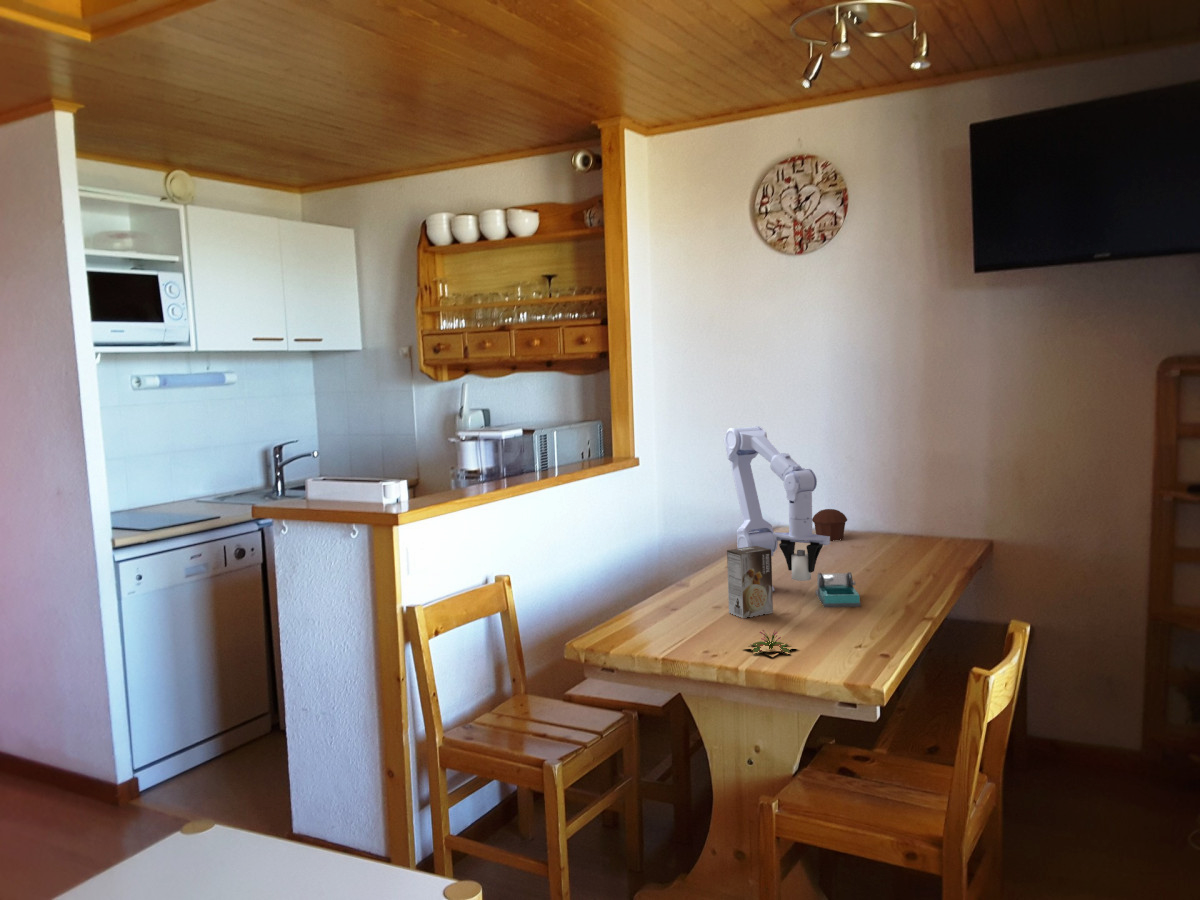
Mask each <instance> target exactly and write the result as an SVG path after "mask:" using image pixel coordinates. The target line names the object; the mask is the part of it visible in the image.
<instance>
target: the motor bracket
mask: <svg viewBox="0 0 1200 900" xmlns="http://www.w3.org/2000/svg"><path fill="white" fill-rule="evenodd" d="M816 583H817V584H816V585H817V589H815V595H816V597H817V596H818V597H817V599H818V600H819V601H821V602H820V603H821V605H822V604H823V605H822V607H823V606H824V607H823V608H861V607H862V604H861V600H860V598H861V597H860V594H859V592H858V591H857V590H856V589H855V587H854V586H855V585H856V580H853V575H852V572H850V571H849V572H844V573H843V572H842V573H841V572H838V573H837V572H835V573H833V572H832V573H831V572H830V573H822V572H818V573H817V582H816Z"/></svg>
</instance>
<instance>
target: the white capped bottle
mask: <svg viewBox="0 0 1200 900" xmlns="http://www.w3.org/2000/svg"><path fill="white" fill-rule="evenodd" d="M791 564H792V570H791V580H793V581H799V582H800V581H801V582H802V581H804V582H805V581H810V580H812V573H810V572H809V570H808V553H806V550H805V549H797V550H796V553H794V554H792V555H791Z"/></svg>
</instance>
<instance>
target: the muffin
mask: <svg viewBox="0 0 1200 900" xmlns="http://www.w3.org/2000/svg"><path fill="white" fill-rule="evenodd" d="M847 521H848V518H847V516H846V515H845V514H844V513H843V512H842V511H840V510H838V509H833V508H826V509H820V510H819V511H818V512H816V513H815V514H814V515H813V516H812V523H813V524H814V531H815V534H816V535H822V536H830V541H831V542H834V541H833V540H840V539H843V540H844V535H845V534H844V533H845V527H846V522H847ZM840 541H841V540H840Z"/></svg>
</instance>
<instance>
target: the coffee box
mask: <svg viewBox="0 0 1200 900" xmlns="http://www.w3.org/2000/svg"><path fill="white" fill-rule="evenodd" d="M726 555H727V556H726V558H727V562H726V563H727V565H726V566H727V590H728V592H727V593H728V614H730V613H731V614H730V615H732V614H733V615H732V616H735V615H736V617H738V616H739V617H738V618H740V617H742V618H741V619H743V618H745V619H748V618H747V617H750V618H753V616H755V617H759V616H758V615H760V616H763V614H765V615H769V614H773V613H774V604H773V603H774V600H773V596H774V595H773V591H772V585H773V568H772V565H773V562H772V561H773V560H772V559H773V558H772V556H771V549H767V548H763V547H759V546H751V547H744V548H738V547H737V548H732V549H727V550H726Z"/></svg>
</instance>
